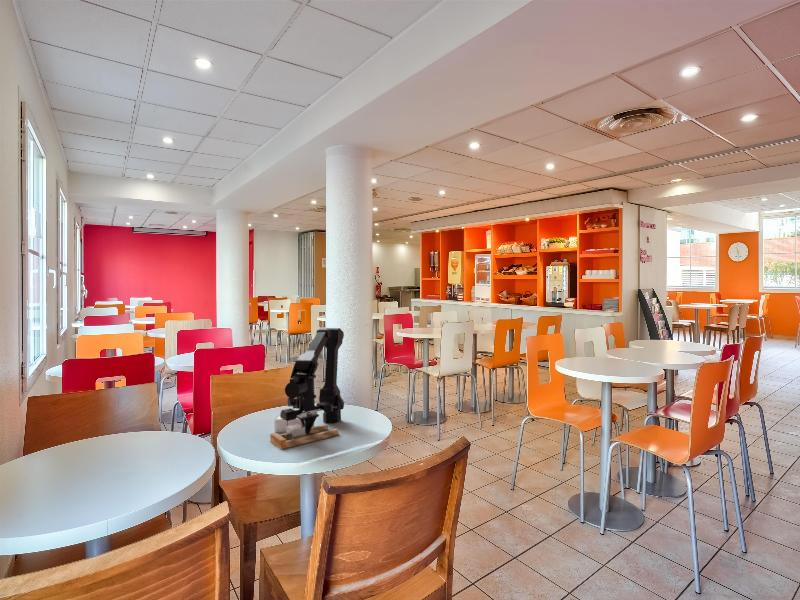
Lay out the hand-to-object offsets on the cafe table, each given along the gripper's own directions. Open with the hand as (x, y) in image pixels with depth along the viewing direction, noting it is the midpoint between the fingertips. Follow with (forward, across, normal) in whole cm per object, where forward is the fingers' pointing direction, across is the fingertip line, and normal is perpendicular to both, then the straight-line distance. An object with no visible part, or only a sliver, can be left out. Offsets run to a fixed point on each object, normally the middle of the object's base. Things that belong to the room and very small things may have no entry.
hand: (307, 433), depth 169 cm
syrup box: (-1, +5, -17) cm, 18 cm away
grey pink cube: (+2, +5, 0) cm, 5 cm away
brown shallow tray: (+2, +1, 0) cm, 2 cm away
